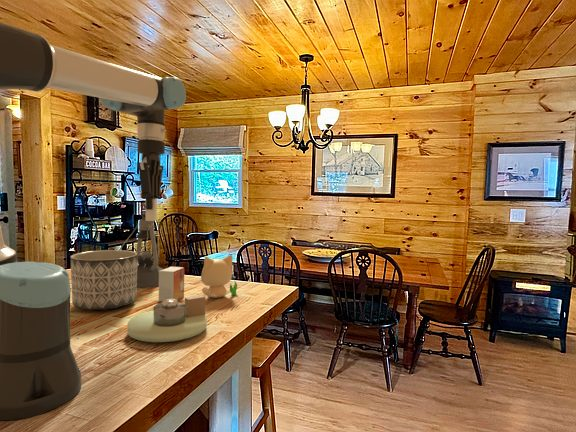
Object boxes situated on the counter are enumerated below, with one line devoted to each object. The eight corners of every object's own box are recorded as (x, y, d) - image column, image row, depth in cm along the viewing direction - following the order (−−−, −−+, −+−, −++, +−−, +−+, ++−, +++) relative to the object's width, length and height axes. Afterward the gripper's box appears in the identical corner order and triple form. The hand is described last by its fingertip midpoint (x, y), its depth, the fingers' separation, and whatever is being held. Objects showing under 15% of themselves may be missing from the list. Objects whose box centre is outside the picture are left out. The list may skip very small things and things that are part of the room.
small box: (173, 302, 124) (173, 271, 123) (158, 301, 125) (158, 270, 124) (184, 296, 132) (184, 267, 131) (170, 295, 133) (170, 266, 132)
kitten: (230, 290, 141) (231, 251, 140) (243, 297, 132) (243, 255, 132) (192, 296, 132) (193, 254, 131) (203, 303, 124) (203, 259, 123)
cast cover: (189, 323, 96) (189, 302, 96) (158, 329, 92) (158, 307, 92) (179, 314, 103) (180, 295, 103) (150, 319, 99) (150, 299, 98)
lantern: (105, 286, 142) (104, 208, 141) (144, 276, 161) (144, 207, 159) (141, 292, 135) (141, 210, 134) (177, 280, 154) (177, 209, 152)
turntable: (219, 331, 97) (219, 304, 96) (140, 349, 85) (140, 319, 84) (189, 310, 113) (189, 288, 112) (119, 323, 101) (119, 298, 100)
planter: (77, 299, 125) (76, 250, 124) (138, 295, 132) (138, 249, 131) (65, 317, 107) (64, 261, 106) (136, 311, 114) (136, 258, 113)
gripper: (154, 137, 101) (154, 222, 103) (172, 143, 114) (171, 219, 116) (127, 136, 102) (128, 221, 103) (148, 143, 115) (148, 218, 116)
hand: (151, 220), depth 110 cm, fingers closed
